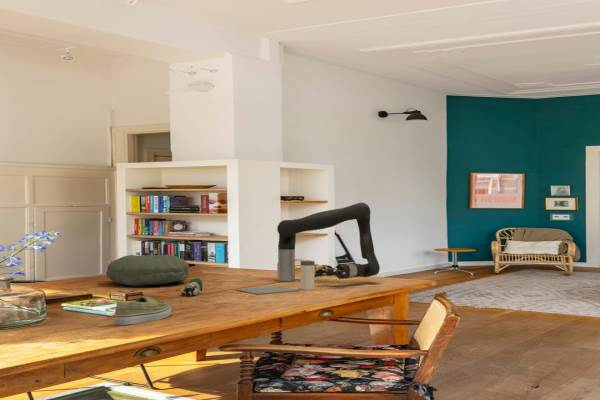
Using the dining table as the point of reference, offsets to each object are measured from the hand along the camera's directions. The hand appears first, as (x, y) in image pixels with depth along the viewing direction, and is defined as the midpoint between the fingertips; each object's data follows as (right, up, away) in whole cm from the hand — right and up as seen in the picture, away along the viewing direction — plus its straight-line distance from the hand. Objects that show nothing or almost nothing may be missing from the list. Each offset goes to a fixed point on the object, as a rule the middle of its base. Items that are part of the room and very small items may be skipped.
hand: (321, 272), depth 371 cm
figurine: (-1, -8, +59) cm, 59 cm away
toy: (-61, -8, -27) cm, 67 cm away
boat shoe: (-69, -8, -97) cm, 119 cm away
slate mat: (-27, -8, -12) cm, 30 cm away
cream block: (-7, -8, -5) cm, 12 cm away
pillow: (-90, -8, +17) cm, 92 cm away
